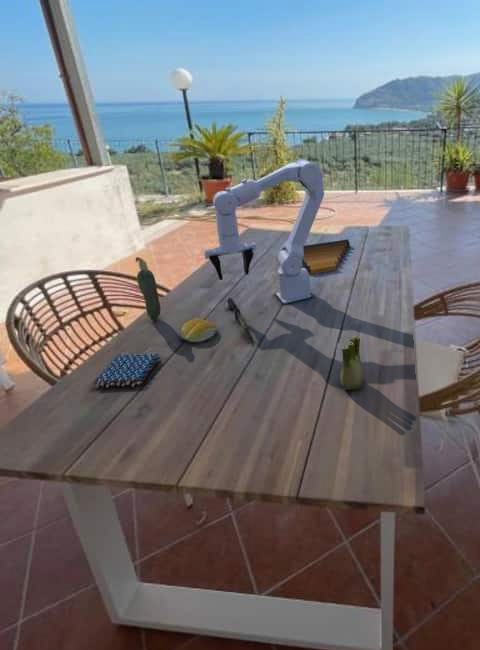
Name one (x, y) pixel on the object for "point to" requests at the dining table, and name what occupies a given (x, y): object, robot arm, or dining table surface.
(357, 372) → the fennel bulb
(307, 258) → the pan flute
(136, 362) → the woven mat
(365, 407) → the dining table surface
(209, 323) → the bread roll
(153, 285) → the vegetable
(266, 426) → the dining table surface
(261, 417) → the dining table surface
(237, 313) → the knife
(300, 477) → the dining table surface
